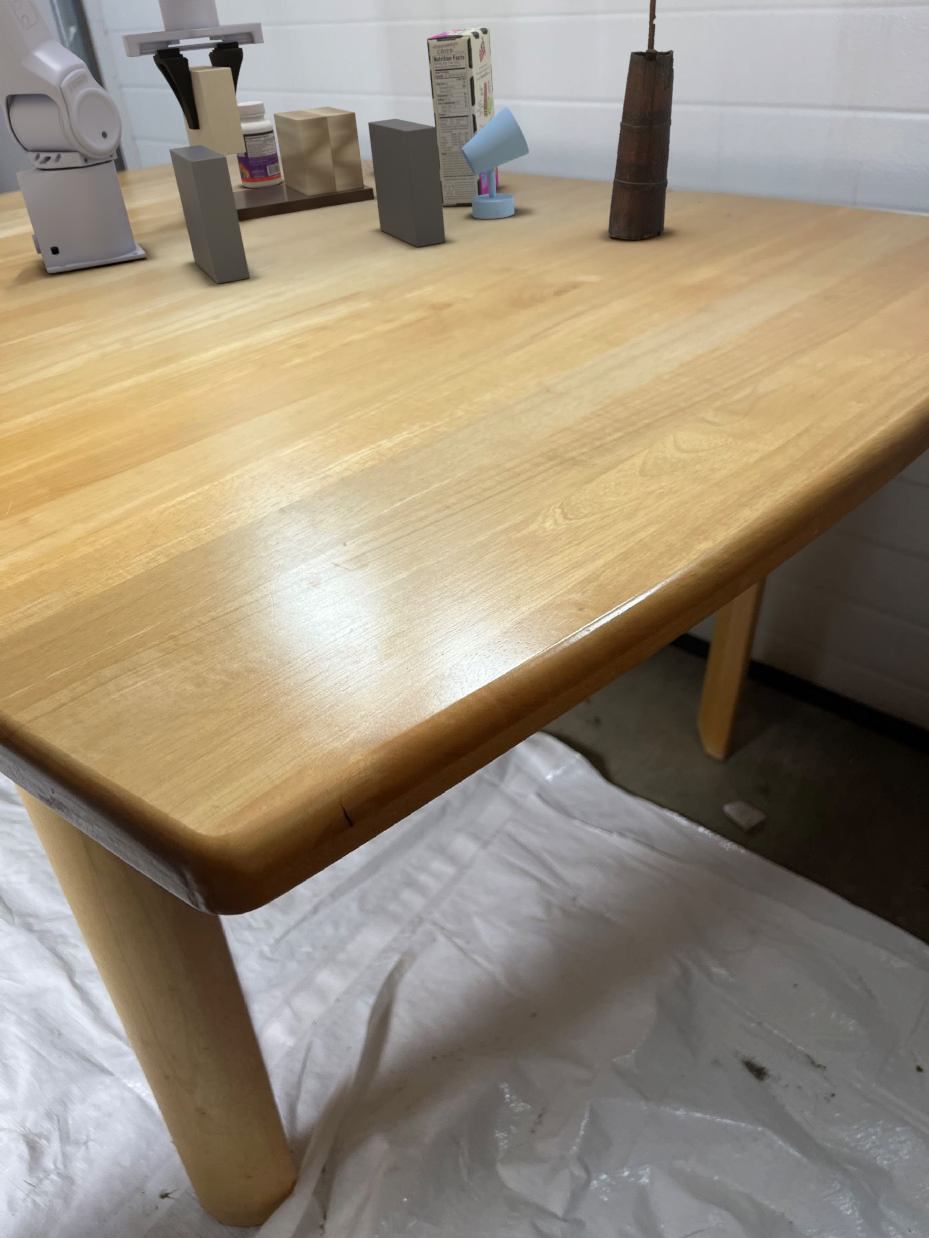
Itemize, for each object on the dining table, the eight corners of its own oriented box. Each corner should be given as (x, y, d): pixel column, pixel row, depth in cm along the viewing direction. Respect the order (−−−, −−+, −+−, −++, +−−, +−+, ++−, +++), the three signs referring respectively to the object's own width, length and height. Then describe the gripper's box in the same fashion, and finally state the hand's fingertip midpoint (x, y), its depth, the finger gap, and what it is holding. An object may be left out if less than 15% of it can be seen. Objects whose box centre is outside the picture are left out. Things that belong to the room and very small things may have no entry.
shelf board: (210, 225, 105) (190, 135, 100) (189, 209, 114) (170, 125, 109) (374, 198, 111) (364, 112, 106) (341, 185, 120) (331, 105, 115)
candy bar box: (459, 188, 113) (448, 29, 104) (499, 186, 112) (491, 26, 103) (438, 207, 104) (424, 36, 95) (482, 206, 103) (472, 32, 94)
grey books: (217, 284, 83) (190, 161, 77) (194, 262, 90) (168, 149, 85) (445, 242, 90) (436, 127, 84) (406, 225, 97) (396, 118, 92)
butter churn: (673, 251, 81) (696, -165, 65) (571, 246, 85) (569, -147, 69) (702, 227, 87) (729, -157, 71) (606, 224, 91) (612, -141, 75)
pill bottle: (240, 184, 127) (225, 104, 122) (279, 179, 128) (265, 99, 123) (244, 190, 123) (228, 107, 117) (285, 185, 124) (271, 102, 118)
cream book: (215, 157, 100) (198, 71, 95) (190, 148, 107) (172, 68, 103) (246, 152, 101) (230, 67, 97) (219, 144, 108) (203, 65, 104)
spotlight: (523, 206, 101) (461, 213, 101) (520, 102, 96) (454, 109, 95) (534, 214, 97) (470, 222, 97) (532, 107, 92) (463, 113, 91)
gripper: (120, -18, 89) (156, 138, 97) (262, -29, 95) (286, 120, 103) (104, -15, 95) (140, 133, 102) (240, -26, 100) (264, 116, 108)
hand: (212, 126), depth 103 cm, fingers closed on cream book, 3 cm apart
